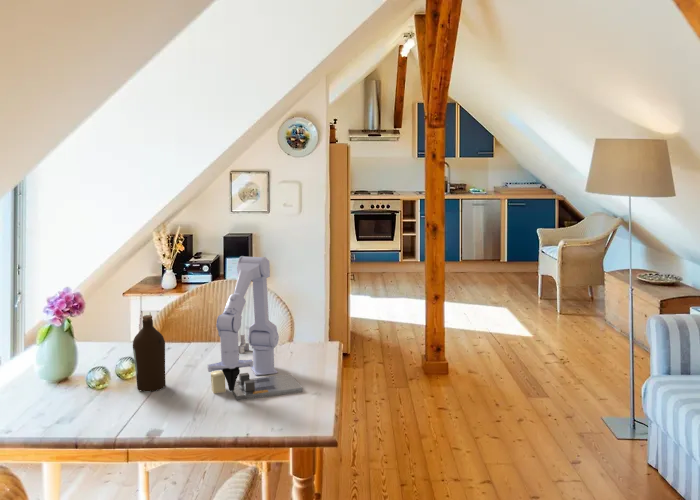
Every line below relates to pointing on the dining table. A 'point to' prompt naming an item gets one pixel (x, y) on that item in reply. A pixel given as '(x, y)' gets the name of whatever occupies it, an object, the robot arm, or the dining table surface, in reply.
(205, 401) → the dining table surface
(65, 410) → the dining table surface
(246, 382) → the breaker tagged
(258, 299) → the robot arm
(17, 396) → the dining table surface
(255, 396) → the panel
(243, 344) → the architectural model
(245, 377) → the block
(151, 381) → the olive oil
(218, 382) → the cap
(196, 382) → the dining table surface
